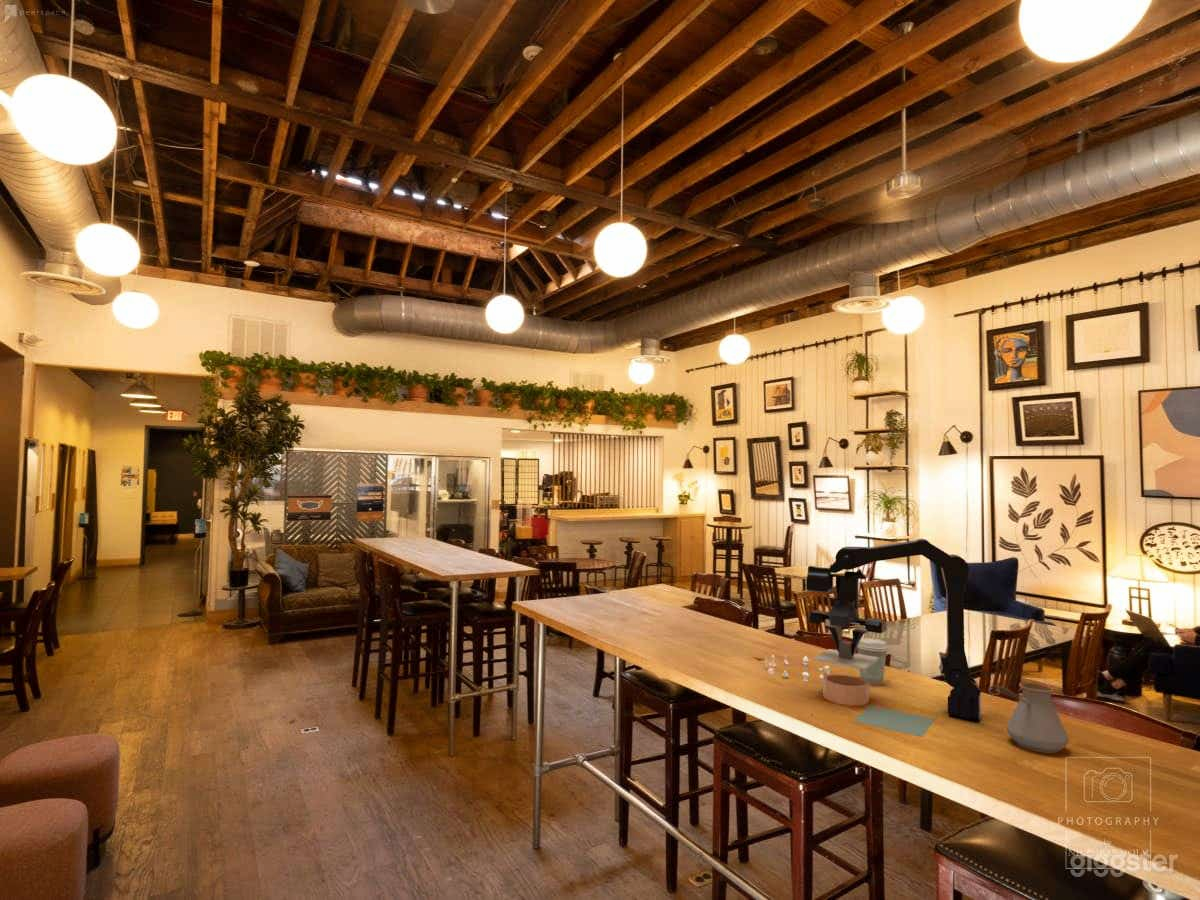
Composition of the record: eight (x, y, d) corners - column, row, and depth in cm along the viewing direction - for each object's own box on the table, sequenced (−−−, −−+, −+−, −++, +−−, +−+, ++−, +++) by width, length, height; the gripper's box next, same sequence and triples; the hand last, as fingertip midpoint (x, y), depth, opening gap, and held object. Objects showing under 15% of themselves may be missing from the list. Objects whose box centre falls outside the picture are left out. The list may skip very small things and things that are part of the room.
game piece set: (788, 661, 211) (788, 649, 211) (843, 676, 195) (843, 663, 195) (749, 669, 199) (749, 657, 200) (804, 686, 183) (804, 672, 184)
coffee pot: (1025, 733, 150) (1024, 667, 151) (1080, 752, 140) (1079, 681, 141) (967, 747, 141) (966, 677, 142) (1021, 768, 130) (1020, 693, 131)
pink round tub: (873, 699, 172) (873, 679, 172) (861, 710, 163) (861, 689, 163) (831, 691, 179) (831, 672, 179) (818, 700, 170) (818, 680, 170)
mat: (934, 721, 157) (934, 719, 157) (922, 739, 145) (922, 737, 145) (870, 707, 166) (870, 705, 166) (853, 723, 154) (853, 721, 154)
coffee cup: (854, 684, 186) (854, 641, 187) (857, 676, 194) (857, 636, 194) (886, 689, 182) (886, 645, 183) (888, 681, 190) (888, 639, 190)
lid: (878, 659, 172) (878, 642, 173) (865, 669, 162) (865, 651, 162) (828, 651, 180) (829, 634, 180) (813, 660, 170) (813, 642, 170)
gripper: (801, 593, 171) (801, 653, 170) (876, 603, 160) (875, 667, 159) (815, 589, 180) (814, 646, 179) (887, 597, 169) (886, 658, 168)
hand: (846, 654), depth 171 cm, fingers closed on lid, 3 cm apart
